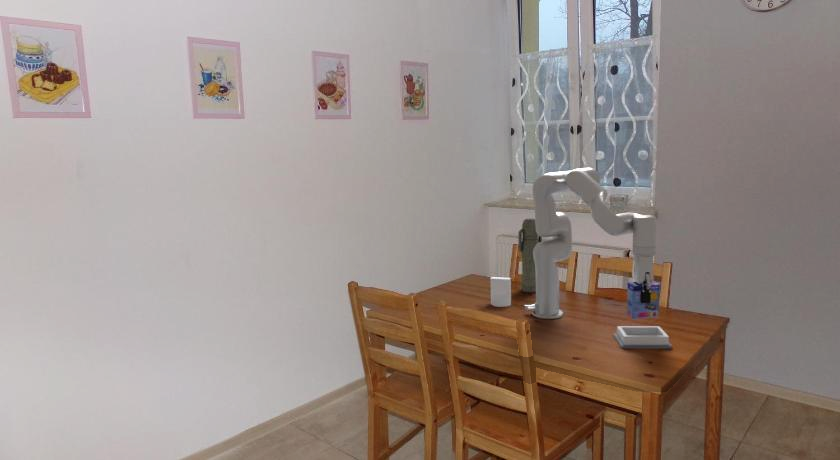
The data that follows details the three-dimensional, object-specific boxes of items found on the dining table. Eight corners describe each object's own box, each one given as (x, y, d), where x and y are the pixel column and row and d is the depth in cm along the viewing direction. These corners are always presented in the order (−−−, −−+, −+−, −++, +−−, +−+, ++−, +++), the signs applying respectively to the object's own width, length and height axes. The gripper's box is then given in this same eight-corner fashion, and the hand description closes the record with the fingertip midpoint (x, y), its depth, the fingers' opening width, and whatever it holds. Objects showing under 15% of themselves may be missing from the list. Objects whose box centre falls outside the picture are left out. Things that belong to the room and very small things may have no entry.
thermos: (546, 290, 277) (545, 219, 271) (526, 293, 272) (525, 221, 266) (535, 286, 285) (534, 217, 279) (515, 289, 280) (514, 219, 274)
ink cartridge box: (632, 319, 200) (633, 279, 198) (625, 314, 205) (626, 275, 203) (659, 317, 201) (660, 277, 199) (652, 313, 206) (653, 274, 204)
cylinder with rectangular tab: (488, 306, 255) (488, 280, 253) (493, 300, 263) (493, 275, 261) (508, 307, 252) (508, 281, 250) (513, 301, 260) (512, 276, 258)
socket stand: (621, 348, 199) (621, 337, 199) (613, 335, 212) (613, 325, 211) (672, 348, 197) (672, 337, 197) (661, 335, 210) (661, 325, 209)
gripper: (626, 245, 208) (626, 293, 211) (639, 255, 191) (638, 307, 194) (648, 245, 207) (647, 293, 210) (662, 255, 190) (661, 307, 193)
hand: (642, 299), depth 202 cm, fingers closed on ink cartridge box, 5 cm apart
